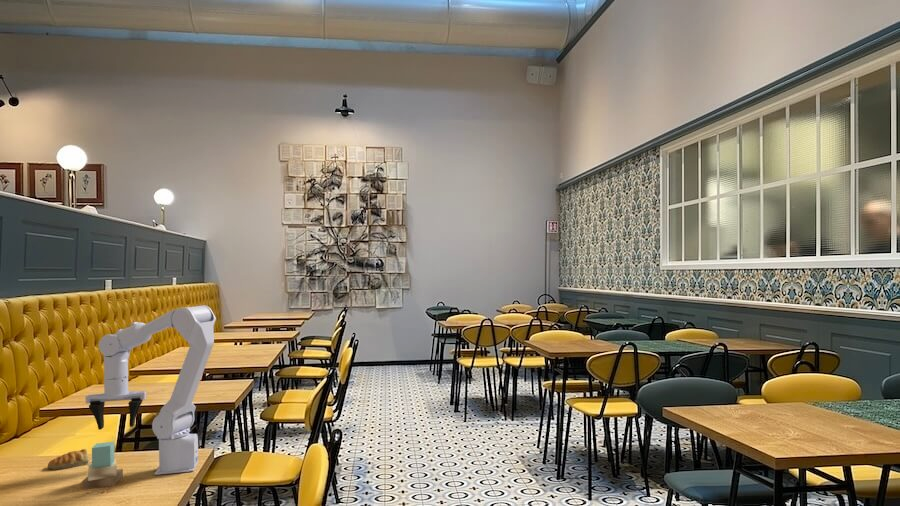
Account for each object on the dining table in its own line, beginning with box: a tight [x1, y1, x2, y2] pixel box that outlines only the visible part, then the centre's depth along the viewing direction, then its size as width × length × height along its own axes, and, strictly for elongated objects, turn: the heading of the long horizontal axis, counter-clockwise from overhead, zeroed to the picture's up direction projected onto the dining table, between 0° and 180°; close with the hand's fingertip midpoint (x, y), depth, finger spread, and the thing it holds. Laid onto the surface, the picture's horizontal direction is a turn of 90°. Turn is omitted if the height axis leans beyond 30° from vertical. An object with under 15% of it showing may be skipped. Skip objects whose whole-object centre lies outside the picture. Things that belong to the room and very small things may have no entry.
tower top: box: [87, 458, 117, 481], centre depth 146 cm, size 6×6×2 cm
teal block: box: [91, 441, 115, 468], centre depth 146 cm, size 4×4×5 cm
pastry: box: [47, 448, 90, 471], centre depth 159 cm, size 9×7×4 cm
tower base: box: [81, 468, 124, 490], centre depth 146 cm, size 7×7×2 cm
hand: (116, 427), depth 158 cm, fingers open, 7 cm apart
